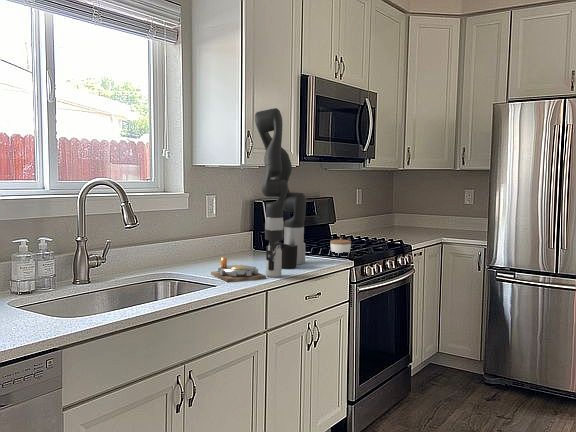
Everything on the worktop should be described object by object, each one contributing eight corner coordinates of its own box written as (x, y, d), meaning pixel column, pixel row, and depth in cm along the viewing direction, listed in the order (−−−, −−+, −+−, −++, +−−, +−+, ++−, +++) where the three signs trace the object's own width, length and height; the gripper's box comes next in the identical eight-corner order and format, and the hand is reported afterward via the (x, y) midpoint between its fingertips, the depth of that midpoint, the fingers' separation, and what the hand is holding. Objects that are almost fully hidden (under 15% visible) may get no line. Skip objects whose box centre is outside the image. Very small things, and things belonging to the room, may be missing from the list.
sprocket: (223, 268, 234) (223, 254, 234) (261, 270, 232) (261, 256, 232) (213, 275, 218) (213, 260, 218) (253, 277, 216) (253, 262, 216)
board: (248, 271, 237) (248, 268, 237) (266, 278, 222) (266, 275, 222) (210, 274, 229) (210, 271, 228) (226, 282, 214) (226, 279, 214)
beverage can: (268, 278, 223) (268, 248, 222) (264, 275, 229) (264, 246, 228) (283, 277, 225) (283, 248, 224) (279, 274, 231) (279, 246, 230)
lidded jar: (326, 254, 286) (326, 237, 285) (343, 253, 291) (343, 236, 290) (337, 258, 277) (337, 239, 276) (354, 256, 282) (355, 238, 281)
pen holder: (293, 265, 254) (293, 243, 253) (300, 268, 245) (300, 246, 244) (273, 266, 251) (274, 244, 250) (279, 269, 242) (280, 247, 241)
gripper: (270, 226, 233) (270, 265, 235) (259, 229, 220) (259, 271, 221) (287, 227, 231) (287, 266, 233) (277, 230, 217) (277, 272, 219)
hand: (273, 268), depth 227 cm, fingers closed on beverage can, 6 cm apart
